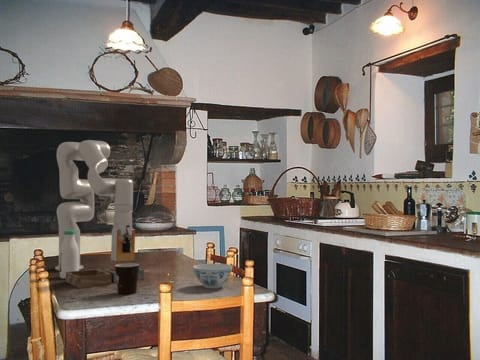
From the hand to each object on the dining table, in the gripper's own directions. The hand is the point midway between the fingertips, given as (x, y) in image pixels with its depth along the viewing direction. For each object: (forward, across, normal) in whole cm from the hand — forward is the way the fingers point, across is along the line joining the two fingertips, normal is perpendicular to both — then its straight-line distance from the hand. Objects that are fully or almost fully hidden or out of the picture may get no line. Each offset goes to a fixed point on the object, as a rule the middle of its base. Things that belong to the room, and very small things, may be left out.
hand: (122, 251), depth 208 cm
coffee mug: (+11, +30, -11) cm, 34 cm away
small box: (+4, 0, 0) cm, 4 cm away
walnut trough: (+12, +1, -15) cm, 19 cm away
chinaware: (+11, +37, +21) cm, 44 cm away
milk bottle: (+12, -17, -17) cm, 27 cm away
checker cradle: (+12, +1, 0) cm, 12 cm away
